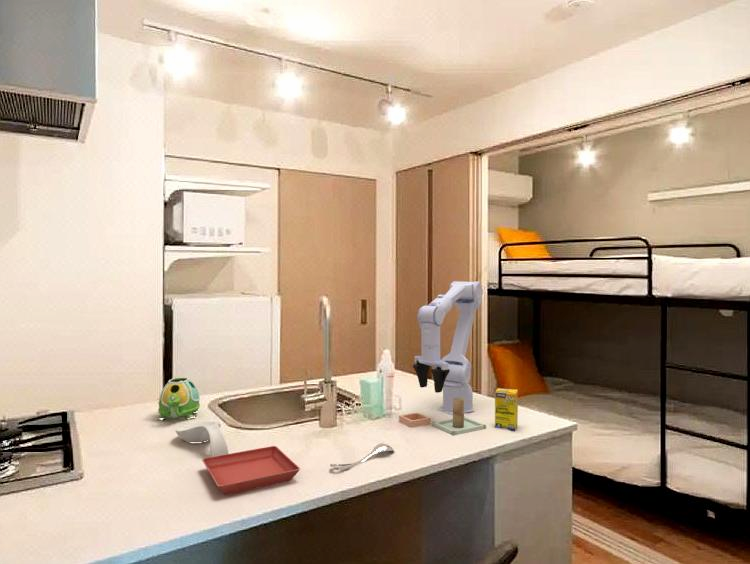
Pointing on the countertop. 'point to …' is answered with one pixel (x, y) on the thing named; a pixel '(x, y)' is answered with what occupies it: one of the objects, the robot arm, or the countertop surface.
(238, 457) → the plant saucer
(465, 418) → the tray
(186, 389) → the turtle holder
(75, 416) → the countertop surface
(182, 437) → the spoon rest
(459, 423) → the dowel
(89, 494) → the countertop surface
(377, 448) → the silver spork
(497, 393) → the supplement box
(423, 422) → the tray
